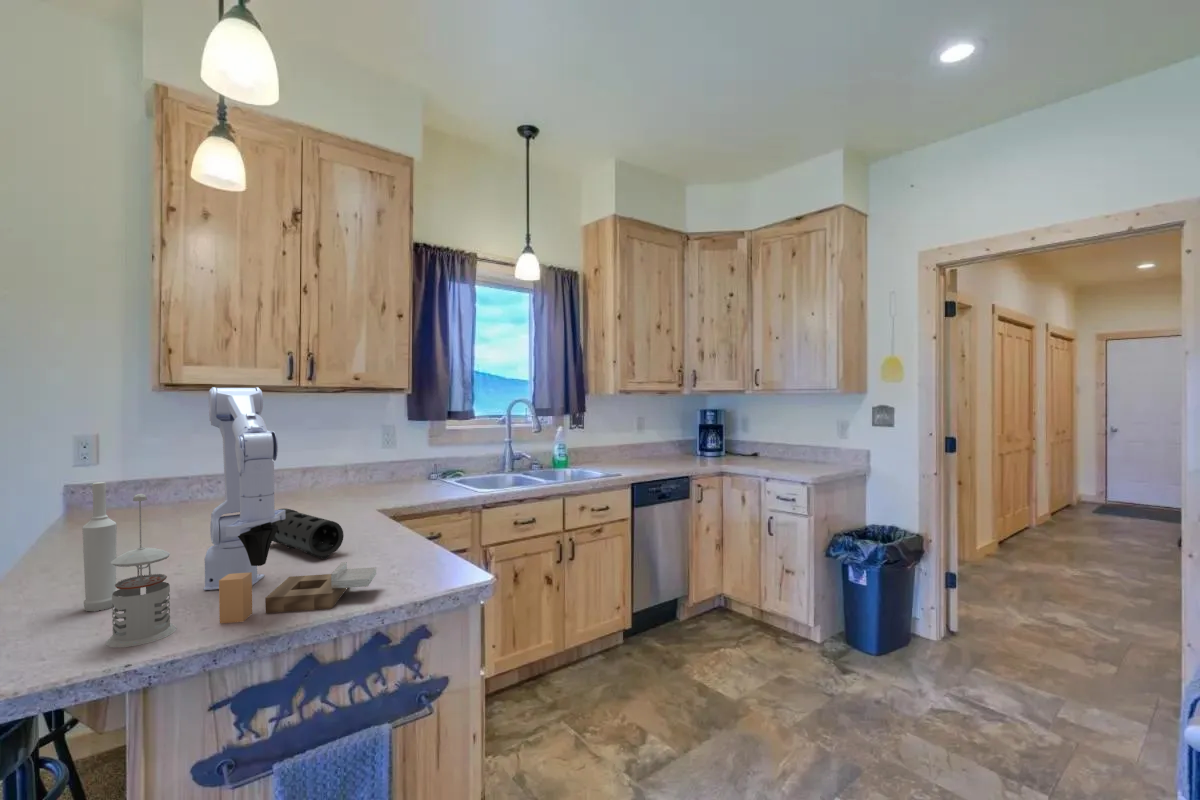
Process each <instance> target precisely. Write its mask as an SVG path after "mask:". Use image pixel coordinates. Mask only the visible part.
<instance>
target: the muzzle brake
mask: <svg viewBox="0 0 1200 800" xmlns="http://www.w3.org/2000/svg"><path fill="white" fill-rule="evenodd" d="M277 510H285V519H284V520H278V521H276V522H272V523H271V525H278V531H277V532H276V534H275V536H274V538H273V540H272V542H273V543H277V544H279V545H280V544H281V545H285V548H287V547H289V548H288V549H290V548H294V549H297V550H301V552H302V553H306V554H308V555H310V556H313V557H315V558H316V557H317V558H319V559H321V560H326V558H327V559H329V556H331V555H332V554H334V553H335V552H337V551H338V549H340V548H341V546H342V544H343V540H344V536H345V535H344V530H343V528H342V525H340V523H338V522H336V521H333V520H330V519H329V520H328V519H326V518H322V517H317V516H314V515H313V516H312V515H309V514H305V513H303V512H299V511H297V510H294V509H291V508H285V507H284V508H278V509H277Z"/></svg>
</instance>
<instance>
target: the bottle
mask: <svg viewBox="0 0 1200 800" xmlns="http://www.w3.org/2000/svg"><path fill="white" fill-rule="evenodd" d="M91 485H92V487H91V488H92V516H91V517H90V520H89V521H88V522H86V523H85V524H84V525H83V526H82V528H81V529H82V546H83V547H82V548H83V549H82V551H83V572H84V592H85V593H84V596H85V597H84V598H85V599H84V600H83V609H84V611H85V610H86V611H85V612H87V611H94V612H100V611H99V610H101V611H105V610H108V608H109V609H112V605H113V603H112V594H113V593H114V592H115V591H117V588H116V587H115V584H116V583H117V566H114V565H113V564H112V563H111V561H113V560H114V559H115V558H117V532H118V531H117V526H118V525H117V522H116V521H114V520H113V519H111V518H110V517H109V515H107V501H106V500H107V497H106V495H107V482H106V481H98V482H93V483H92V484H91ZM104 609H105V610H104Z"/></svg>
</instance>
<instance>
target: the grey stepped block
mask: <svg viewBox="0 0 1200 800" xmlns="http://www.w3.org/2000/svg"><path fill="white" fill-rule="evenodd" d="M330 574H331V589H335V588H347V589H348V588H363V587H369V586H370V584H371V583H372V581H373V579H375V577H376V575H377V567H376V566H373V567H371V566H370V567H357V568H355V567H354V568H348V565H347V561H343V562H340V564H339V565H337V567H336V568H335V569H334V570H333V571H332V573H330Z"/></svg>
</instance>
